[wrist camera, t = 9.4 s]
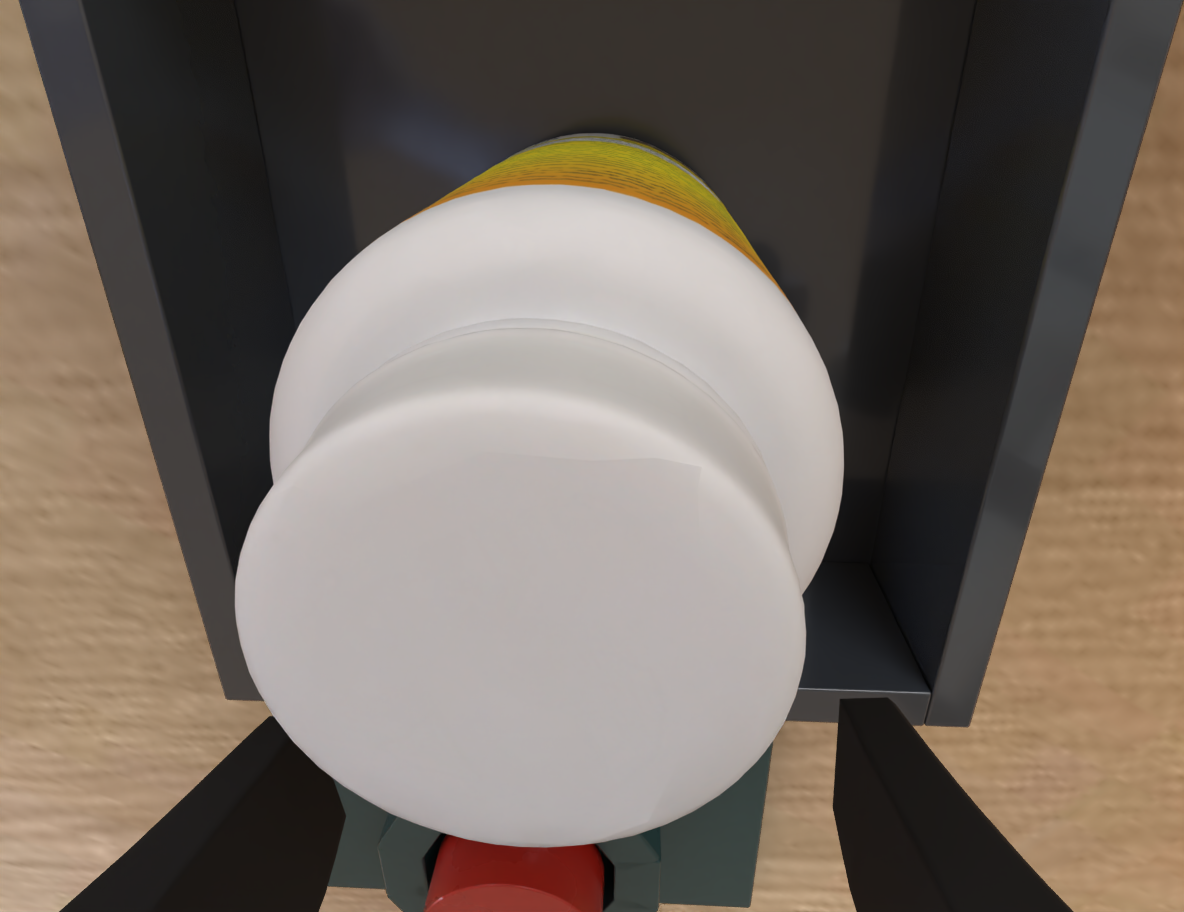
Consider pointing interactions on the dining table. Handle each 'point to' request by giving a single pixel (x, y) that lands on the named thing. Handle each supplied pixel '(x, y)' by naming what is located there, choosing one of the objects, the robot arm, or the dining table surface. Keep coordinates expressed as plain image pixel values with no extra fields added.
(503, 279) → the supplement bottle
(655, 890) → the block
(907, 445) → the dark grey storage bin
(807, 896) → the dining table surface
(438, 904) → the tap button
